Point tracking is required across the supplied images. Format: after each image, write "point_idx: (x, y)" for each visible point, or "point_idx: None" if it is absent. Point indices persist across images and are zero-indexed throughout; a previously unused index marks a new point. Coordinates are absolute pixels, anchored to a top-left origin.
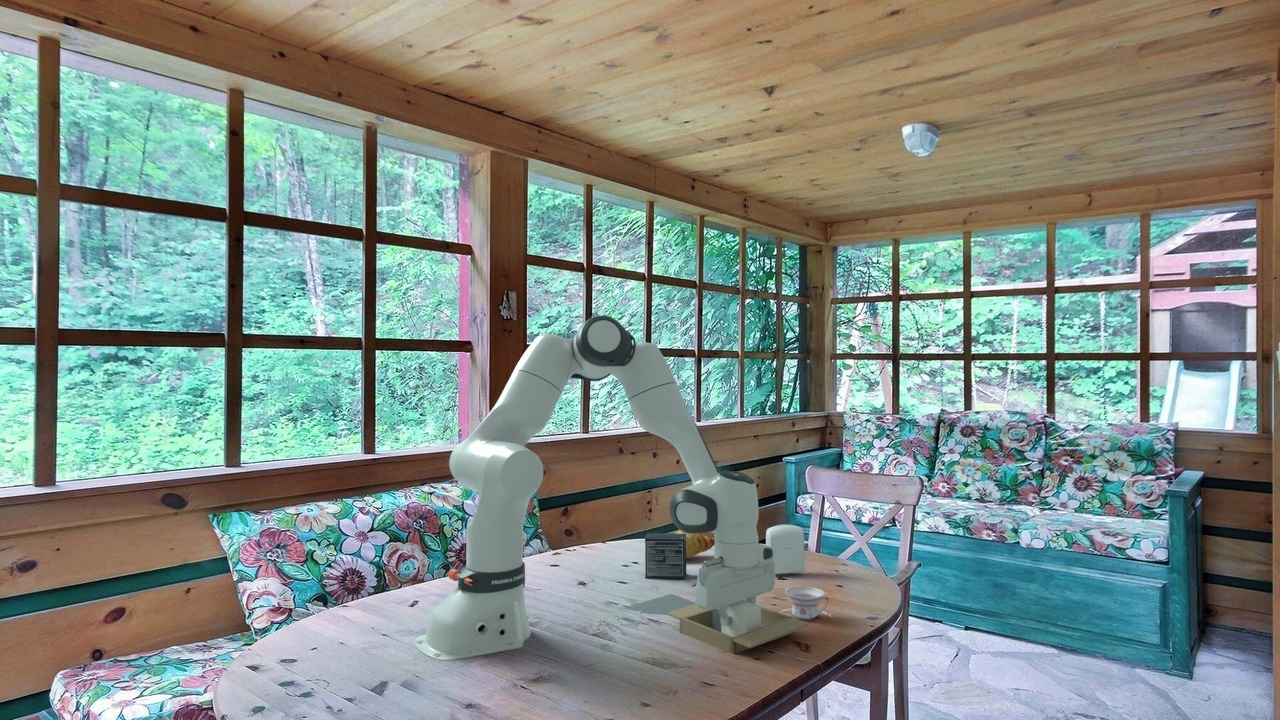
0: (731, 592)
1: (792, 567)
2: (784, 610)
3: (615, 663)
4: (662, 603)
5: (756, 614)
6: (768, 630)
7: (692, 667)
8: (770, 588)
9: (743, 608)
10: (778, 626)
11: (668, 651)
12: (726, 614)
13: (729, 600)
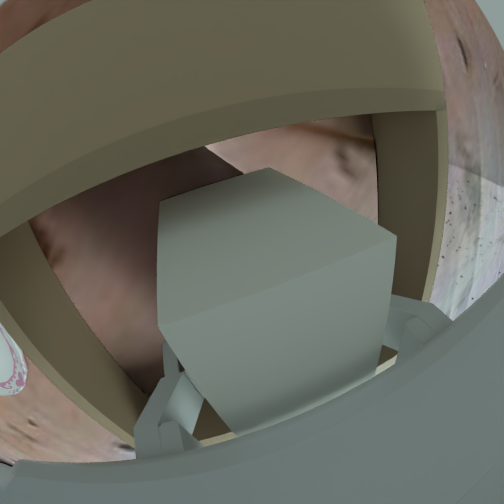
0: (490, 389)
1: (6, 472)
2: (6, 392)
3: (492, 230)
4: None
5: (221, 257)
6: (217, 54)
7: (458, 135)
8: (25, 476)
9: (363, 302)
10: (86, 101)
11: (441, 244)
12: (396, 302)
13: (469, 340)
